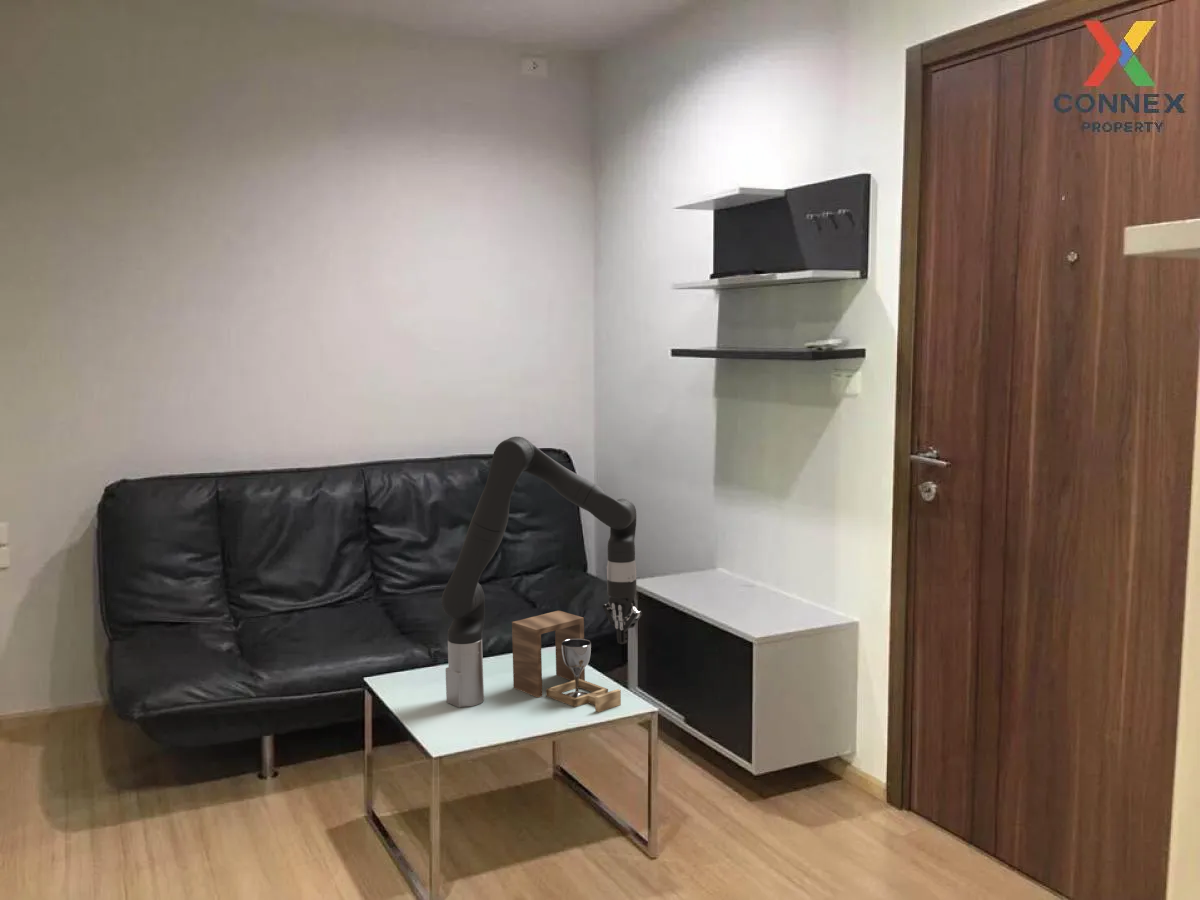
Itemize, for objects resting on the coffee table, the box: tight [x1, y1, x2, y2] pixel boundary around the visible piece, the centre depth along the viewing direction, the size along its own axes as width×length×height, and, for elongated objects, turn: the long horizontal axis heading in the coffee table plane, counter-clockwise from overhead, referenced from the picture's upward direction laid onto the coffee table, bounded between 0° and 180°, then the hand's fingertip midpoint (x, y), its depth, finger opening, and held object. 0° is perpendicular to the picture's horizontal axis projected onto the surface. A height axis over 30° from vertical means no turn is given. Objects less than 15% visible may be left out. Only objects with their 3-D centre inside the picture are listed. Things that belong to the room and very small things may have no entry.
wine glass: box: [562, 638, 592, 698], centre depth 279 cm, size 8×8×15 cm
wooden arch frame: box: [511, 610, 586, 698], centre depth 288 cm, size 17×11×19 cm, turn 132°
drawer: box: [545, 679, 622, 713], centre depth 277 cm, size 12×19×4 cm, turn 42°
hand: (622, 642), depth 264 cm, fingers closed
